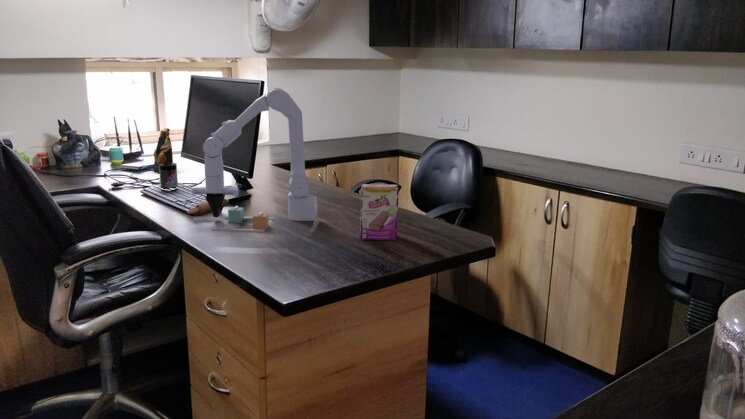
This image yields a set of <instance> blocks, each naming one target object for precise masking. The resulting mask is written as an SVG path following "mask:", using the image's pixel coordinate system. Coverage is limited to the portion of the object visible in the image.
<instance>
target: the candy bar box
mask: <svg viewBox="0 0 745 419" xmlns="http://www.w3.org/2000/svg"><path fill="white" fill-rule="evenodd" d="M398 207H399V185H398V184H375V183H374V184H371V183H370V184H368V183H367V184H366V183H363V184H361V190H360V218H359V219H360V222H359V223H360V224H359V226H360V227H359V228H360V229H359V238H360V240H361V241H375V240H376V241H397V236H398V235H397V233H398V212H399V211H398V210H399V209H398Z"/></svg>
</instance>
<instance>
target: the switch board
mask: <svg viewBox="0 0 745 419" xmlns="http://www.w3.org/2000/svg"><path fill="white" fill-rule="evenodd" d="M224 219H228V216H224ZM244 220H249V221H245V224H243V221H242V222H241V223H240V225H239V226H238V227H237V228H225V227H224V228H223V227H219V228H218V227H211V231H212V232H213V231H219V232H249V233H250V232H251V233H264V232H265V230H266V229H253V216H244ZM274 220H275V217H269V225H270V224H271V222H273V221H274ZM230 223H232V224H233V223H234V222H229V224H230Z"/></svg>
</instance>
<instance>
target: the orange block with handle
mask: <svg viewBox="0 0 745 419" xmlns="http://www.w3.org/2000/svg"><path fill="white" fill-rule="evenodd" d="M252 217H253V219H252V228H253V229H261V230H262V229H265V230H267V229H268V227H269V226H270V224H269V218H270V217H269V213H268V212H263V211H259V212H255V213H254V214H253V215H252Z"/></svg>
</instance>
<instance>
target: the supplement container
mask: <svg viewBox="0 0 745 419" xmlns="http://www.w3.org/2000/svg"><path fill="white" fill-rule="evenodd" d="M177 166H178V165H177V163H175V162H173V163H162V164H159V171H160V173H159V183H160V184H159V186H160V189H161V188H163V189H170V188H176V187H178V188H179V184H178V183H179V182H178V169H177V168H178V167H177Z"/></svg>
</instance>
